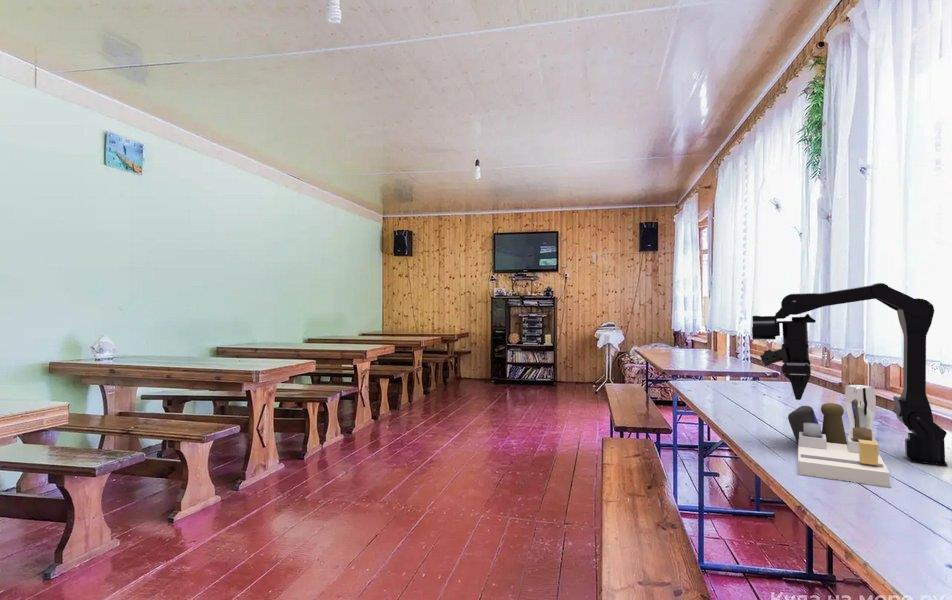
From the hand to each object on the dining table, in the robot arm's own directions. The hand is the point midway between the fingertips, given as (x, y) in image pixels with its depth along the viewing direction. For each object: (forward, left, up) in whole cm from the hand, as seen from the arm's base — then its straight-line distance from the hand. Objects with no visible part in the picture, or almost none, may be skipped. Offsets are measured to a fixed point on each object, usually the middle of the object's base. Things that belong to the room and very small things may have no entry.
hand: (798, 397), depth 132 cm
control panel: (-8, +15, -14) cm, 21 cm away
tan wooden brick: (-13, +20, -10) cm, 26 cm away
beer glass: (-15, -19, -14) cm, 28 cm away
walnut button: (-13, +9, -8) cm, 17 cm away
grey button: (-3, +9, -8) cm, 12 cm away
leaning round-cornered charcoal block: (-2, -5, -14) cm, 15 cm away
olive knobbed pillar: (-8, -9, -14) cm, 19 cm away
